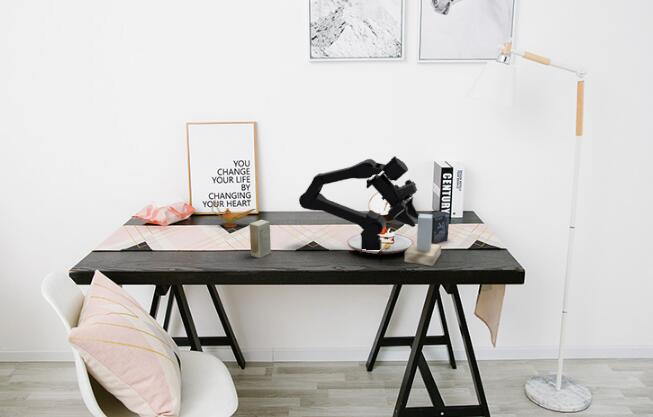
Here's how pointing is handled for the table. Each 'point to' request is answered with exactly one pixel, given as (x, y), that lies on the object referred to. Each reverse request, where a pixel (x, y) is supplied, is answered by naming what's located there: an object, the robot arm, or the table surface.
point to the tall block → (424, 232)
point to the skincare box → (260, 238)
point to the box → (439, 226)
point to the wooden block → (422, 254)
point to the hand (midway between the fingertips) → (416, 222)
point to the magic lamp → (231, 216)
